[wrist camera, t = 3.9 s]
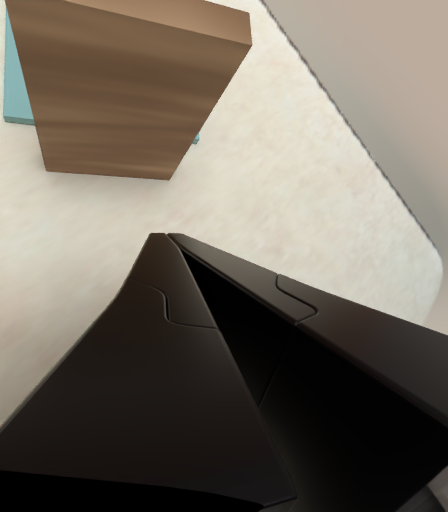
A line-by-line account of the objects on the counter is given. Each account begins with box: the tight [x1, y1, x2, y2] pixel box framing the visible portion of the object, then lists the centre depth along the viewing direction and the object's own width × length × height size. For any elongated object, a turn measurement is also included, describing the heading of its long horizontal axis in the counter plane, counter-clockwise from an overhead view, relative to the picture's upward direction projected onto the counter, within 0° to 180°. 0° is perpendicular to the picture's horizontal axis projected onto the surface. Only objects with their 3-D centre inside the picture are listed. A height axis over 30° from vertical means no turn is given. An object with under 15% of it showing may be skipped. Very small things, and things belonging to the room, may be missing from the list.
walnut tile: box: [5, 0, 252, 180], centre depth 16 cm, size 1×7×12 cm, turn 94°
